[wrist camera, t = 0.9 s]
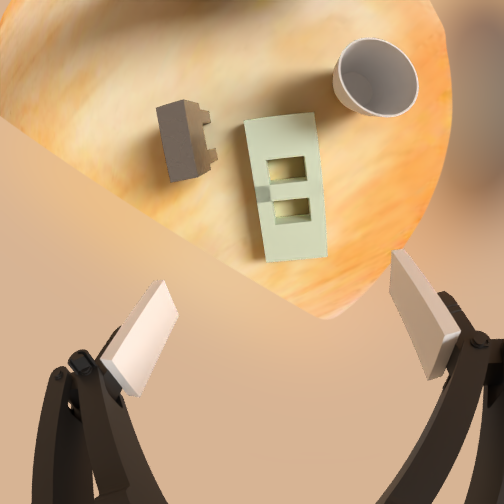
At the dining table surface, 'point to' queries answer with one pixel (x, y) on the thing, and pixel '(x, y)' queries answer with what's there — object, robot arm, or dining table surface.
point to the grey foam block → (185, 139)
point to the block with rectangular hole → (288, 186)
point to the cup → (375, 78)
